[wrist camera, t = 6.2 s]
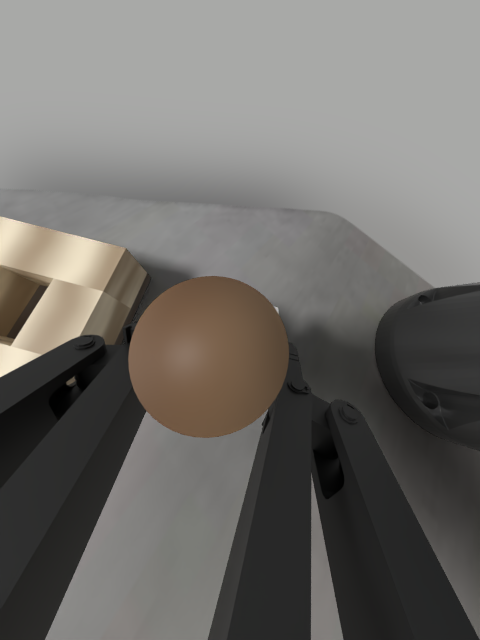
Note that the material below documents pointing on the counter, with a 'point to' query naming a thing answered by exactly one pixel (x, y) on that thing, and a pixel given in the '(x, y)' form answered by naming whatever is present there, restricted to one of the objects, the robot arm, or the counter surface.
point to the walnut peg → (208, 356)
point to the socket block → (61, 291)
